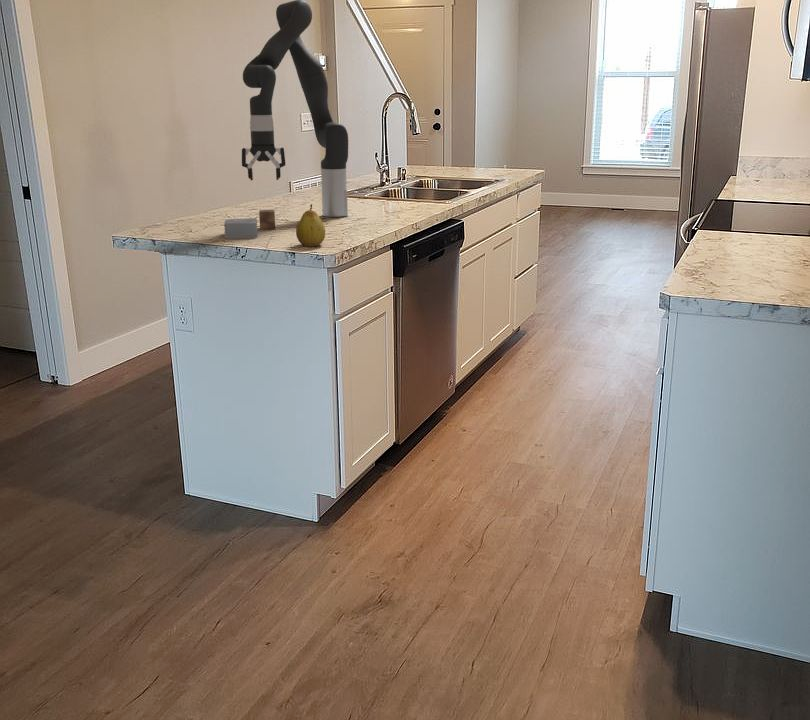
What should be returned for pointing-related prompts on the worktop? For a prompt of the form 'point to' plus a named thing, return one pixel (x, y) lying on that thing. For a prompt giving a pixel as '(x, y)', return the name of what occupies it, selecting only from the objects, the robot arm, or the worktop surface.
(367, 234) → the worktop surface
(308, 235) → the fruit
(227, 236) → the base block
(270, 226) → the walnut block
